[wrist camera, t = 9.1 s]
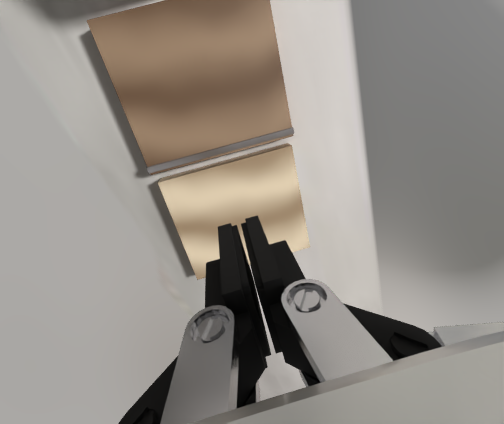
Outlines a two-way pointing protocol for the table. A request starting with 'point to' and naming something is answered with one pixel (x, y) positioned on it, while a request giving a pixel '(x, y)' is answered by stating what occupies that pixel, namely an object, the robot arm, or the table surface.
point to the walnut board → (196, 77)
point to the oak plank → (236, 202)
